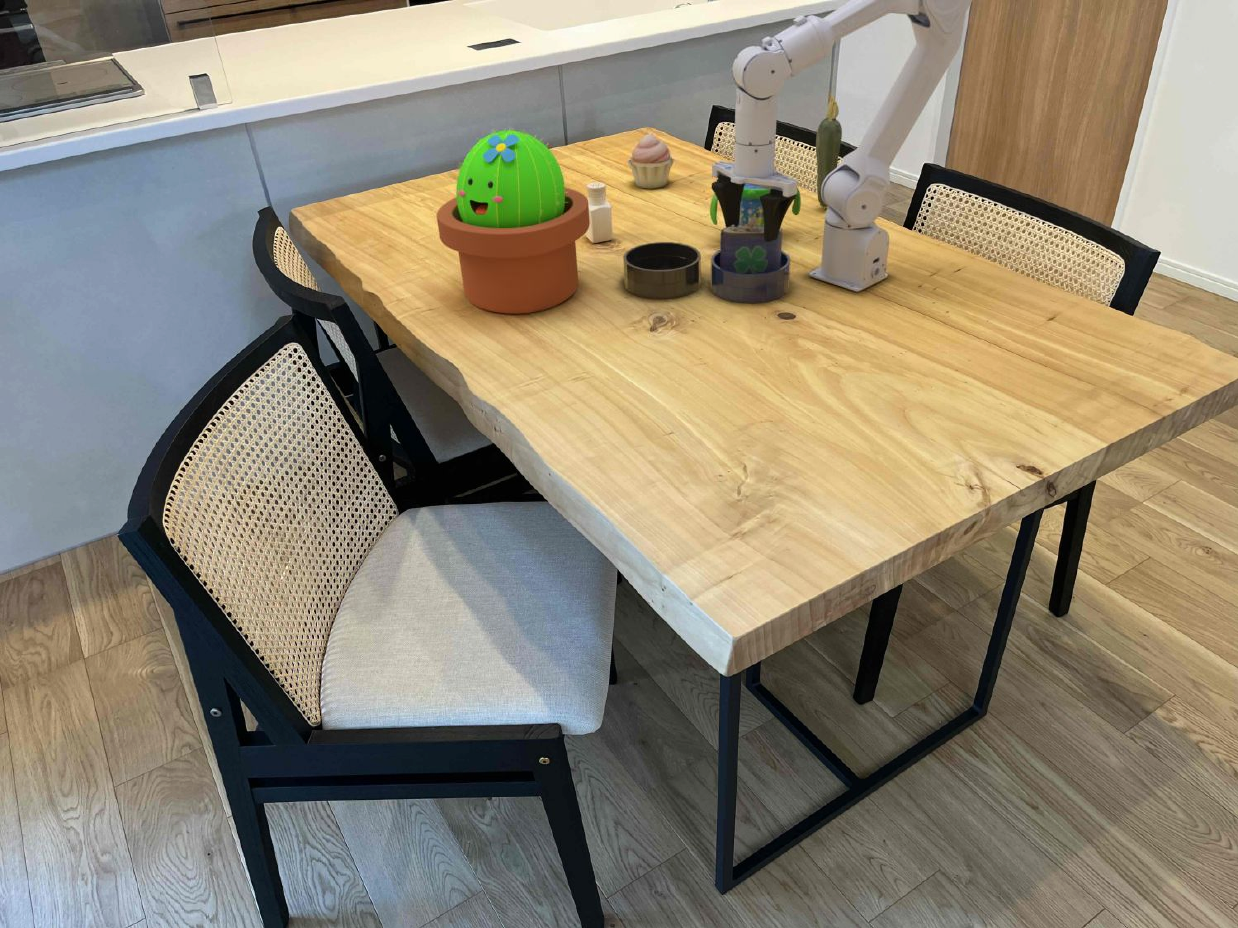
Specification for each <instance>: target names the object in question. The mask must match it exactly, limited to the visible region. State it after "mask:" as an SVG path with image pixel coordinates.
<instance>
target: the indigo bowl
mask: <svg viewBox="0 0 1238 928" xmlns="http://www.w3.org/2000/svg"><path fill="white" fill-rule="evenodd" d="M720 255H721V250H718V251H716V252H714V254H712V256H711V257H710V280H709V281H710V283H709V285H710V290H711V293H713V294H714V295H715V296H717V297H718V298H720V299H722V300H725V301H728V302H733V303H738V304H739V303H740V304H761V303H769V302H772V301H775V300H778V299H780V298H782V297H783V296H785V295H786V294H787V293H788V291H789V287H790V280H791V279H790V278H791V263H792V259H791V257H790V255H789V254H788V253H786V251H783V250H781V267H780V269H778V270H775V271H771V272H767V273H760V274H742V273H734V272H730V271H727V270H724V269H722V268H720Z"/></svg>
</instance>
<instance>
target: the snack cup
mask: <svg viewBox="0 0 1238 928" xmlns="http://www.w3.org/2000/svg"><path fill="white" fill-rule="evenodd" d="M768 193H770V190H767V189H763V188H759V187H756V186H752V185H748V184H745V186H744V189H743V193H742V198H741V206H740V220H739V225H738V226H743V227H744V226H745V225H746V224H748V222H749V219H750V218H751V217H757V223H756V225H757V226H758V227H757V228H759V227H764V214H763V208H762V204H761V201H760V196H762V195H765V194H768ZM718 203H719V201H718V199H717V197H716V195H715V193H714V194H713V195H712V198H711V201H710V207H709V215H710V219H711V222H712V224H713V225H715V226H717V225H718V219H717V216H718ZM801 204H802V199H801V192H800V189H799V187H798V186H797V194H796V197H795V199H794V200H793V202H792V207H791V213H792V214H793V215H795V216H798V215H800V211H801V206H802V205H801Z"/></svg>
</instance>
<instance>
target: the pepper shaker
mask: <svg viewBox="0 0 1238 928" xmlns="http://www.w3.org/2000/svg"><path fill="white" fill-rule="evenodd" d="M606 187H607V186H606V183H604V182H599V181H596V182H590V183H588V184H586V193H587V197H586V198H587V199H588V204H589V220H590V225H589V228H588V230H587V232H586V233H585V237H586V238H587V239H588V240H589V241H590V242H591V243H592V244H597V243H603V242H607V241H611V240H613V237H614V235H613V217H612V216H613V214H612V205H611V204H610V203H609V202H608V201H607V188H606Z"/></svg>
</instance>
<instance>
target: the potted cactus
mask: <svg viewBox="0 0 1238 928" xmlns="http://www.w3.org/2000/svg"><path fill="white" fill-rule="evenodd" d="M508 128H509V129H508V130H507V129H504V130H501V131H500V130H498V129H497V128H496V127H495V128H494V129H491V133H489V134H487V135H486V136H485V137H482V138H481V139H480V138H477V140H478V142H477V143H475V144H474V145H473V146H472V148H470V147H468V150H470V151H469V152H468V153H467V155H466V156H465V158H464V159H463V162H460V161H459V163H457V166H458V165H459V167H456V170H459V172H458V174H457V175H455V176H456V177H452V178H454V179H455V178H456V190H455V193H456V196H455V197H453V198H452V199H450V200H448V201H446V202H445V203H444V204H443V205H441V206H440V208H439V209H438V210H437V211H436V222H437V227H438V228H437V229H438V234H439V239H440V241H441V243H442V244H443V245H444V246H445V247H447V248H449V249H451V250H453V251H456V252H458V258H459V259H458V260H459V266H460V273H461V279H462V286H463V292H464V295H465V298H466V300H467V301H468V302H469V303H470V304H471V305H473V306H475V307H476V308H480V309H483V310H485V311H489V312H494V313H500V314H514V315H515V314H529V313H536V312H540V311H544V310H549V309H551V308H553V307H556V306H557V305H560V304H562V303H563V302H565V301H567V300H568V299H570V298H571V297H572V296H573V295H574V294H575V293H576V291H577V289H578V286H579V273H578V272H579V271H578V260H577V259H578V258H577V247H576V245H577V244H576V241H578V240H579V239H581V238H582V237H583V236H585V235H586V232H587V230H588V228H589V225H590V220H589V204H588V197H586V195H585V194H583V193H582V192H579V191H577V190H575V189H572V188H569V187H570V185H569V184H568V183H567V184H566V185H565V180H564V179H566V176H564V175H563V171H566V169H565V168H564V167H562V168H561V165H560V164H559V162H558V160H557V159H556V157H555V155H554V153H553V152H552V150H550V148H548V146H549V143H547V144H545V143H544V142H542V141H543V138H541V139H538V138H536V136H538V133H536V136H532V135H531V134H529V133H527V132H526V131H525V130H513V129H514V127H513V126H512V129H511V128H510V126H508ZM495 129H496V130H495Z"/></svg>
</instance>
